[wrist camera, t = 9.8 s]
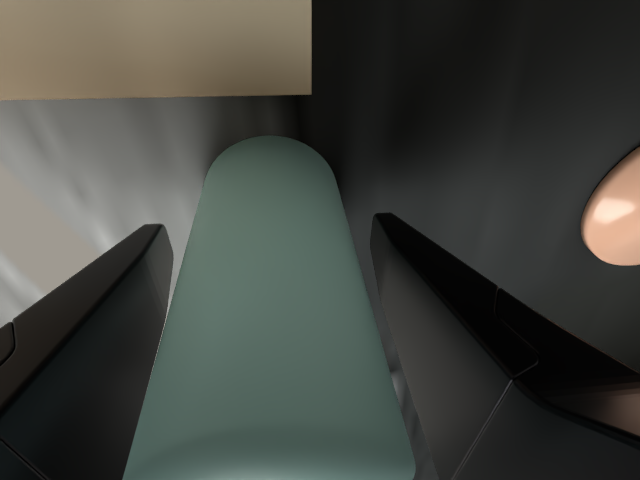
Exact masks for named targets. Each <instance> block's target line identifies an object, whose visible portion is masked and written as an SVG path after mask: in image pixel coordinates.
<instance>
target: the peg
mask: <svg viewBox="0 0 640 480" xmlns="http://www.w3.org/2000/svg"><path fill="white" fill-rule="evenodd" d="M415 471H416V466H415V460H414V456H413V453H412V449H411V446H410V442H409V438H408V435H407V431H406V428H405V424H404V421H403V417H402V414H401V410H400V406H399V403H398V399H397V396H396V392H395V389H394V385H393V382H392V378H391V374H390V371H389V367H388V364H387V360H386V357H385V353H384V350H383V346H382V342H381V339H380V335H379V332H378V328H377V325H376V321H375V318H374V314H373V311H372V307H371V303H370V300H369V296H368V293H367V289H366V286H365V282H364V279H363V275H362V271H361V268H360V264H359V261H358V257H357V254H356V250H355V247H354V243H353V239H352V236H351V232H350V229H349V225H348V222H347V218H346V215H345V211H344V207H343V204H342V200H341V197H340V193H339V190H338V186H337V183H336V179H335V176H334V174H333V172H332V170H331V168H330V166H329V165H328V163H327V162H326V161H325V159H324V158H323V157H322V156H321V155H320V154H319V153H317V152H316V151H315V150H314V149H312V148H311V147H309V146H307V145H306V144H304V143H302V142H299V141H297V140H294V139H291V138H287V137H281V136H268V135H267V136H257V137H252V138H248V139H245V140H242V141H240V142H238V143H236V144H234V145H232V146H230V147H229V148H227V149H226V150H225V151H223V152H222V153H221V154H220V155H219V156H218V157H217V158H216V159H215V161H214V162H213V163H212V165H211V167H210V169H209V170H208V173H207V175H206V178H205V182H204V185H203V189H202V192H201V196H200V200H199V203H198V207H197V211H196V214H195V218H194V221H193V225H192V229H191V232H190V236H189V240H188V243H187V247H186V250H185V254H184V258H183V261H182V265H181V269H180V272H179V276H178V279H177V283H176V287H175V290H174V294H173V298H172V301H171V305H170V309H169V312H168V316H167V319H166V323H165V327H164V330H163V334H162V338H161V341H160V345H159V348H158V352H157V356H156V360H155V363H154V367H153V370H152V374H151V377H150V381H149V385H148V388H147V392H146V396H145V399H144V403H143V407H142V410H141V414H140V417H139V421H138V425H137V428H136V432H135V436H134V439H133V443H132V446H131V450H130V454H129V457H128V461H127V465H126V468H125V472H124V475H123V479H122V480H412V479H413V478H414V474H415Z"/></svg>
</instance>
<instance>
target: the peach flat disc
mask: <svg viewBox="0 0 640 480" xmlns="http://www.w3.org/2000/svg"><path fill="white" fill-rule="evenodd" d="M580 227H581V236H582V240H583V242H584V244H585V245H586V246H587V247H588V248H589V249H590V250H591V251H592V252H593V253H594V254H595V255H596V256H597V257H598V258H600V259H601V260H603V261H605V262H607V263H611V264H615V265H637V264H640V146H639V147H638V148H637V149H635V150H634V151H632V152H631V153H630V154H629V155H627V156H626V157H625V158H624V159H623V160H621V161H620V162H619V163H618V164H617V165H616V166H615V167H614V168H613V169H612V170H611V171H610V172H609V173H608V174H607V175H606V176H605V178H604V179H603V180H602V181H601V182H600V184H599V185H598V186H597V188H596V189H595V190H594V192H593V194H592V195H591V197H590V199H589V200H588V202H587V205H586V207H585V209H584V212H583V215H582V219H581V225H580Z"/></svg>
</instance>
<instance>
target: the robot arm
mask: <svg viewBox="0 0 640 480" xmlns="http://www.w3.org/2000/svg"><path fill="white" fill-rule="evenodd" d="M370 249H371V254H372V259H373V265H374V270H375V275H376V280H377V285H378V290H379V295H380V300H381V304H382V307H383V310H384V313H385V316H386V319H387V323H388V326H389V329H390V332H391V335H392V338H393V341H394V344H395V347H396V350H397V353H398V356H399V359H400V362H401V365H402V368H403V371H404V374H405V377H406V380H407V383H408V386H409V389H410V392H411V395H412V398H413V401H414V404H415V407H416V410H417V413H418V416H419V420H420V423H421V426H422V429H423V432H424V435H425V438H426V441H427V444H428V447H429V450H430V453H431V456H432V459H433V462H434V465H435V468H436V471H437V474H438V477H439V480H640V372H638V371H636V370H634V369H632V368H630V367H629V366H627V365H625V364H624V363H622V362H620V361H618V360H617V359H615V358H613V357H612V356H610V355H608V354H607V353H605V352H603V351H601V350H600V349H598V348H596V347H595V346H593V345H591V344H589V343H588V342H586V341H584V340H583V339H581V338H579V337H577V336H576V335H574V334H572V333H571V332H569V331H567V330H566V329H564V328H562V327H561V326H559V325H557V324H556V323H554V322H552V321H551V320H549V319H547V318H546V317H544V316H542V315H541V314H539V313H538V312H536V311H535V310H533V309H531V308H530V307H528V306H527V305H525V304H524V303H522V302H521V301H519V300H518V299H516V298H515V297H513V296H512V295H510V294H509V293H508V292H506V291H505V290H503V289H502V288H499V289H498V286H497V285H496V284H494V283H493V282H491V281H490V280H488V279H487V278H486V277H484V276H483V275H481V274H480V273H478V272H477V271H475V270H474V269H472V268H471V267H470V266H468V265H467V264H465V263H464V262H462V261H461V260H459V259H458V258H456V257H455V256H454V255H452V254H451V253H449V252H448V251H446V250H445V249H443V248H442V247H440V246H439V245H438V244H436V243H435V242H433V241H432V240H430V239H429V238H427V237H426V236H424V235H423V234H422V233H420V232H419V231H417V230H416V229H414V228H413V227H411V226H410V225H408V224H407V223H406V222H404V221H403V220H401V219H400V218H398V217H397V216H395V215H394V214H392V213H376V214H375V215H374V216H373V221H372V230H371V238H370ZM172 268H173V250H172V247H171V244H170V240H169V237H168V234H167V230H166V228H165V226H164V225H163V224H145V225H143V226H142V227H140V228H139V229H137V230H136V231H135V232H133V233H132V234H131V235H129V236H128V237H126V238H125V239H124V240H122V241H121V242H119V243H118V244H117V245H115V246H114V247H112V248H111V249H110V250H108V251H107V252H106V253H104V254H103V255H101V256H100V257H99V258H97V259H96V260H95V261H93V262H92V263H90V264H89V265H88V266H86V267H85V268H83V269H82V270H81V271H79V272H78V273H77V274H75V275H74V276H72V277H71V278H69V279H68V280H67V281H65V282H64V283H63V284H61V285H60V286H58V287H57V288H56V289H54V290H53V291H51V292H50V293H49V294H47V295H46V296H44V297H43V298H42V299H40V300H39V301H38V302H36V303H35V304H33V305H32V306H31V307H29V308H28V309H26V310H25V311H24V312H22V313H21V314H19V315H18V316H17V317H15V318H14V319H13V321H12V322H13V323H12V322H8V323H7V324H5V325H4V326H3V327H1V328H0V480H122V479H123V475H124V472H125V468H126V465H127V461H128V457H129V454H130V450H131V446H132V443H133V439H134V436H135V432H136V428H137V425H138V421H139V417H140V414H141V410H142V406H143V403H144V399H145V395H146V391H147V388H148V384H149V380H150V376H151V372H152V369H153V365H154V361H155V357H156V353H157V350H158V346H159V342H160V338H161V335H162V331H163V327H164V323H165V318H166V313H167V307H168V299H169V291H170V283H171V276H172Z"/></svg>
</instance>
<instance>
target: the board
mask: <svg viewBox="0 0 640 480" xmlns="http://www.w3.org/2000/svg"><path fill="white" fill-rule="evenodd" d="M311 66H312V0H0V100H40V99H96V98H152V97H208V96H264V95H311Z"/></svg>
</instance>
